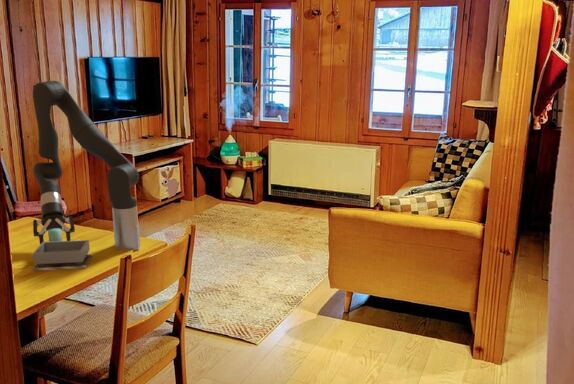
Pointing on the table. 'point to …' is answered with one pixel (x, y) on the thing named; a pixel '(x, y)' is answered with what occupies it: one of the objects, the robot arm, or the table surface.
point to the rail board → (64, 265)
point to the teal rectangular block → (54, 235)
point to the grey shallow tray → (61, 252)
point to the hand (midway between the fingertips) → (55, 243)
